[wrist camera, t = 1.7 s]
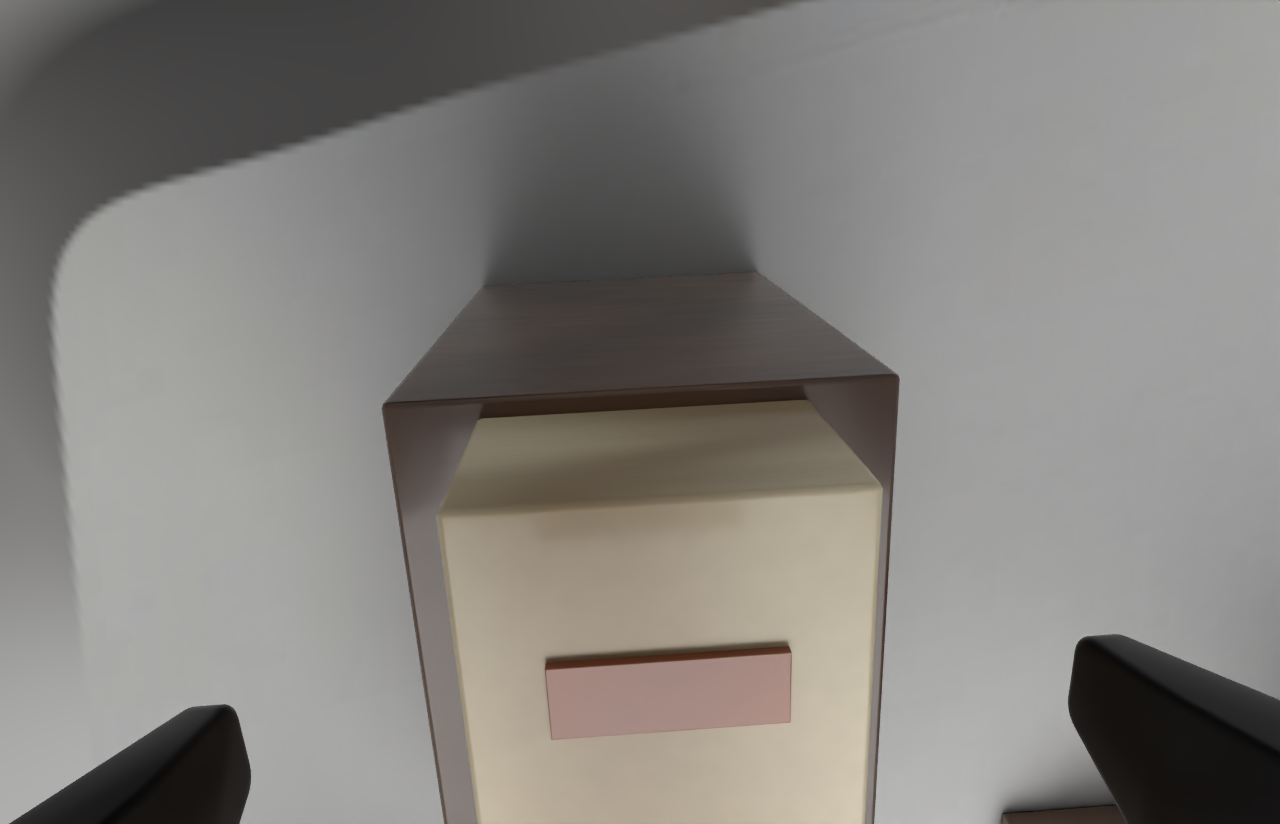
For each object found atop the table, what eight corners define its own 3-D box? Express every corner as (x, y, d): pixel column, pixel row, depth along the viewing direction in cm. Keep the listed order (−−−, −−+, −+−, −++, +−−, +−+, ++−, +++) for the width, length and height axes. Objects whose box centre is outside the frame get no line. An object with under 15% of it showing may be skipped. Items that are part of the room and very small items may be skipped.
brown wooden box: (759, 271, 20) (1015, 457, 8) (758, 794, 25) (914, 1407, 13) (481, 285, 20) (294, 501, 8) (536, 811, 25) (479, 1454, 13)
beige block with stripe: (810, 397, 11) (889, 488, 8) (804, 678, 12) (870, 845, 9) (476, 417, 11) (431, 518, 8) (508, 699, 12) (480, 876, 9)
